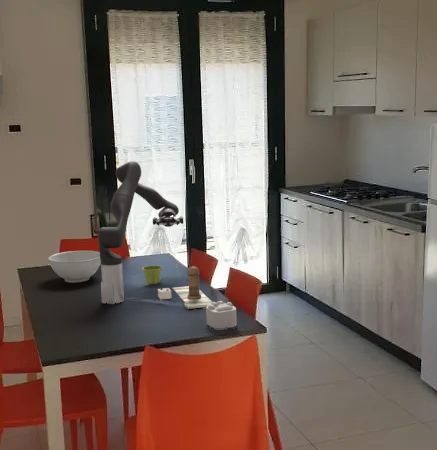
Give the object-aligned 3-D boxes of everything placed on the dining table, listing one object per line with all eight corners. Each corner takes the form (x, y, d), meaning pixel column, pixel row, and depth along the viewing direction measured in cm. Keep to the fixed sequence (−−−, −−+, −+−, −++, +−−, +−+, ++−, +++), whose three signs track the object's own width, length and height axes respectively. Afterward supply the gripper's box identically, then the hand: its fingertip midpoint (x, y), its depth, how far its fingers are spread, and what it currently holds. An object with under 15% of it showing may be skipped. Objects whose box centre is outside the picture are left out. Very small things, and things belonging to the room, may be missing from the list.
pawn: (197, 300, 280) (196, 268, 278) (185, 298, 283) (184, 267, 280) (203, 296, 285) (202, 265, 283) (191, 295, 288) (190, 264, 285)
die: (171, 301, 284) (171, 289, 283) (160, 303, 283) (159, 290, 282) (169, 298, 289) (168, 286, 288) (158, 299, 288) (157, 288, 287)
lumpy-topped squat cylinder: (215, 331, 244) (214, 309, 242) (201, 322, 255) (200, 300, 254) (239, 327, 248) (239, 305, 246) (225, 318, 260) (225, 297, 258)
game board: (215, 307, 274) (215, 303, 274) (187, 310, 271) (187, 306, 271) (196, 288, 305) (196, 285, 304) (171, 290, 301) (171, 287, 301)
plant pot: (141, 287, 308) (140, 270, 307) (144, 282, 318) (143, 265, 316) (161, 287, 308) (160, 269, 306) (163, 282, 317) (162, 265, 316)
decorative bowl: (112, 274, 337) (111, 251, 335) (90, 287, 311) (88, 263, 309) (65, 272, 343) (64, 249, 341) (39, 285, 318) (38, 261, 316)
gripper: (153, 210, 311) (152, 215, 295) (182, 209, 312) (183, 214, 296) (153, 225, 313) (152, 231, 297) (183, 224, 314) (183, 230, 298)
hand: (167, 223), depth 297 cm, fingers open, 8 cm apart
